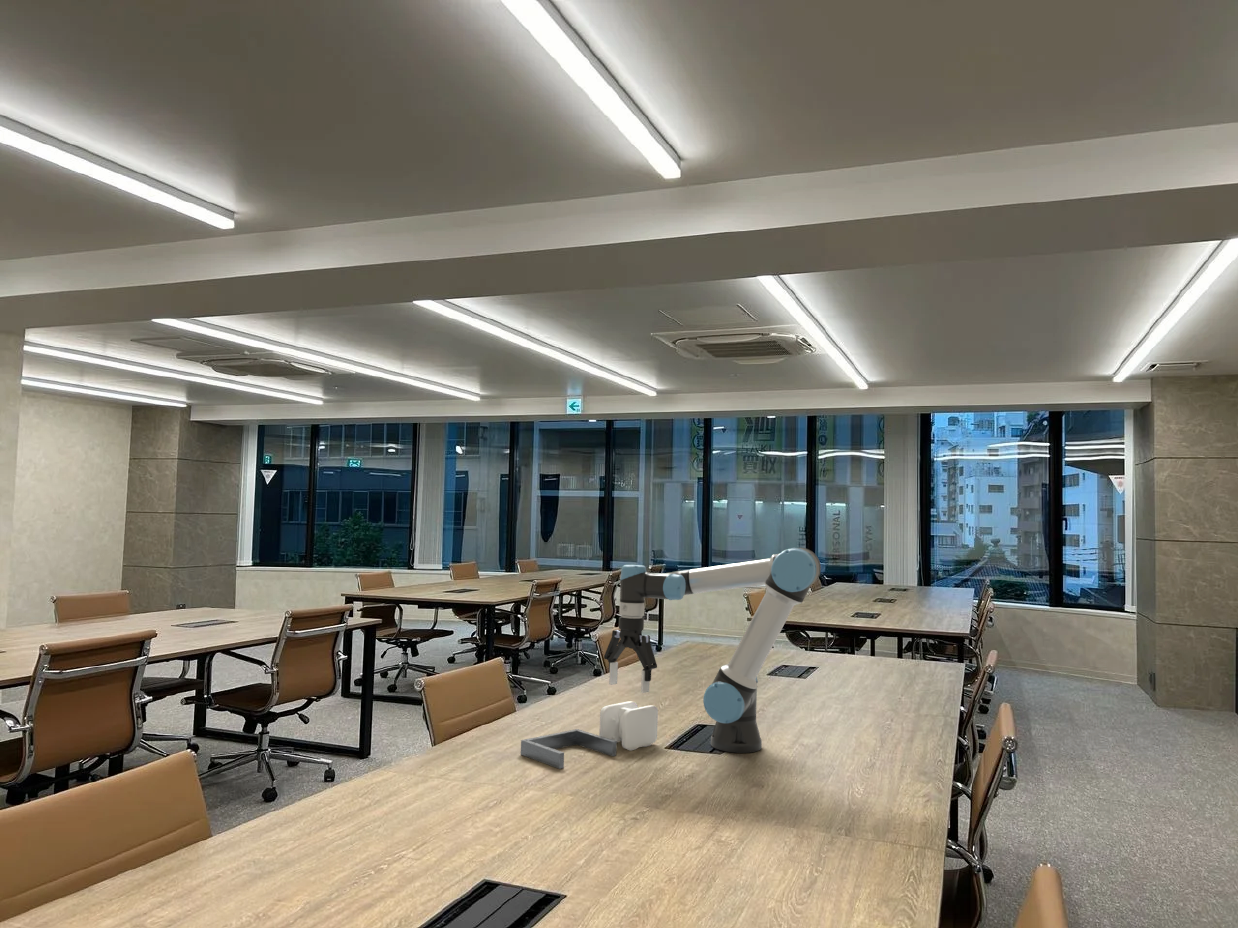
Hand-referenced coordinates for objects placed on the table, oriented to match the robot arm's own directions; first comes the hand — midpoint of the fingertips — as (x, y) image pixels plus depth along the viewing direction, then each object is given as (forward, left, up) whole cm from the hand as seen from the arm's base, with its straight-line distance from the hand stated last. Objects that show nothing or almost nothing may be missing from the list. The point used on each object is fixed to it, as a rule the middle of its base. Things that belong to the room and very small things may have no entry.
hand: (628, 688), depth 251 cm
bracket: (+2, +21, -17) cm, 27 cm away
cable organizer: (0, 0, -17) cm, 17 cm away
